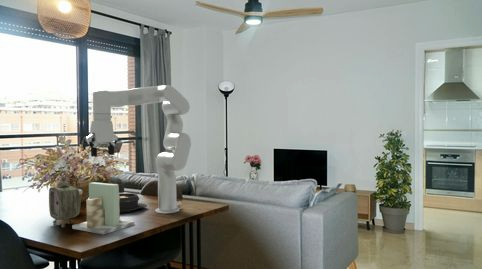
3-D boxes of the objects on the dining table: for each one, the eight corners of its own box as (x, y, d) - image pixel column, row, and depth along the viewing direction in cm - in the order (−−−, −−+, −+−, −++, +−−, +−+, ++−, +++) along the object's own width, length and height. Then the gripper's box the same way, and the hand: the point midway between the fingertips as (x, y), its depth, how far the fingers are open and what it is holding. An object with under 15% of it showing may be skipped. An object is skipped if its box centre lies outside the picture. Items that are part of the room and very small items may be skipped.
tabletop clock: (49, 223, 182) (48, 170, 181) (69, 220, 188) (68, 169, 188) (60, 229, 172) (59, 173, 171) (81, 225, 178) (80, 171, 177)
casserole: (104, 217, 194) (103, 200, 194) (95, 211, 209) (94, 195, 209) (152, 211, 208) (151, 195, 208) (140, 205, 223) (140, 190, 223)
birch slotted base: (104, 219, 189) (103, 192, 188) (134, 224, 179) (134, 195, 178) (72, 228, 173) (71, 198, 173) (103, 234, 163) (102, 202, 163)
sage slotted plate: (94, 220, 181) (94, 182, 181) (119, 224, 173) (118, 184, 173) (89, 222, 178) (88, 183, 178) (114, 226, 171) (113, 185, 170)
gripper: (111, 118, 184) (111, 154, 185) (80, 117, 169) (81, 156, 169) (122, 117, 180) (123, 154, 181) (91, 117, 165) (92, 157, 166)
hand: (102, 155), depth 175 cm, fingers open, 9 cm apart
